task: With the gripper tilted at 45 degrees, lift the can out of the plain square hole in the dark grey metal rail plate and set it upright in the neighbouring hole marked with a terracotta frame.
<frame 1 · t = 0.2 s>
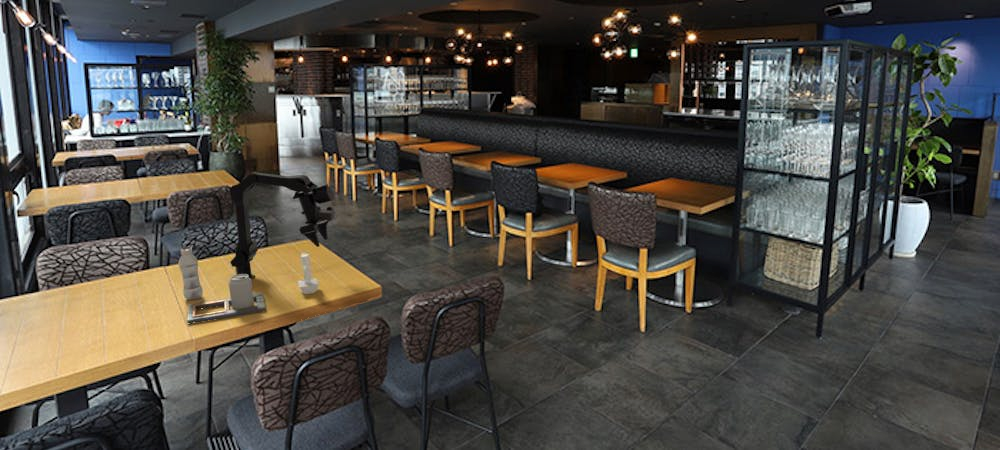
hand: (322, 243, 241), 15 cm above the table, tool pointing down, fingers open, 9 cm apart
figurine: (308, 292, 232), on the table
plastic bottle: (194, 299, 226), on the table
can: (243, 307, 218), resting in rail plate
rail plate: (227, 309, 216), on the table
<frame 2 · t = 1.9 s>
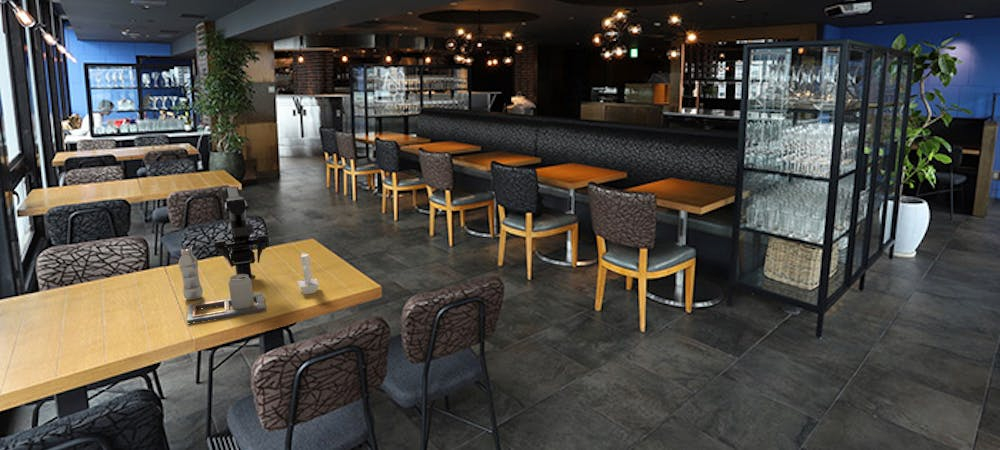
hand: (245, 264, 222), 14 cm above the table, tool tilted 40°, fingers open, 9 cm apart
nothing on the table moved.
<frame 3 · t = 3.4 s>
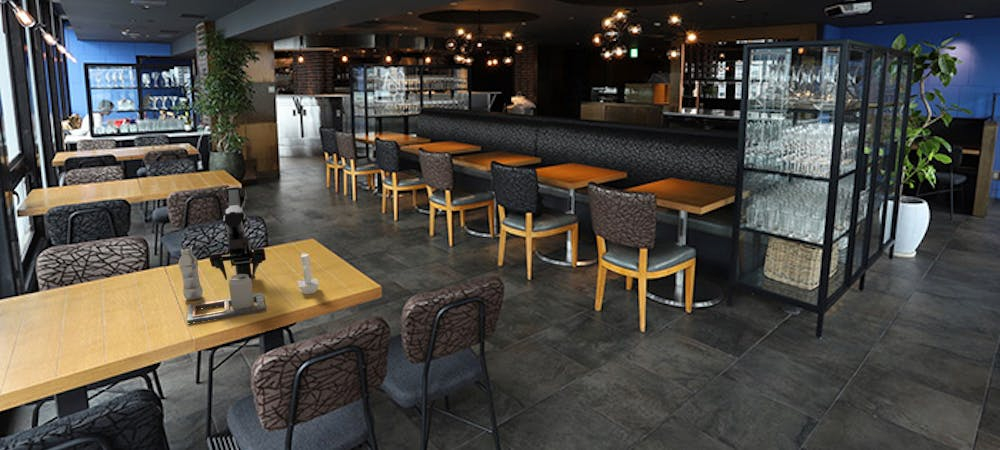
hand: (239, 277, 218), 10 cm above the table, tool tilted 45°, fingers open, 9 cm apart
nothing on the table moved.
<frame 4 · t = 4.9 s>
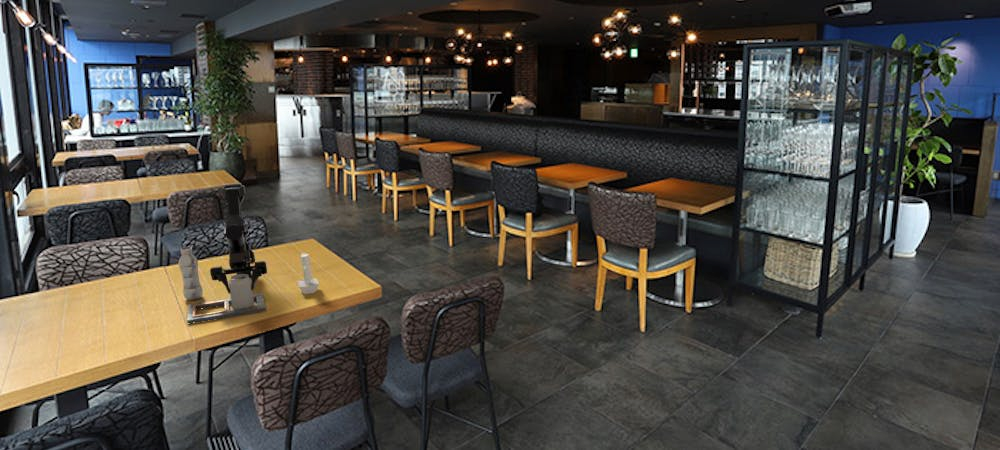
hand: (241, 291, 215), 7 cm above the table, tool tilted 45°, fingers closed on can, 7 cm apart
can: (243, 307, 218), resting in rail plate, touching gripper
everything else where it was.
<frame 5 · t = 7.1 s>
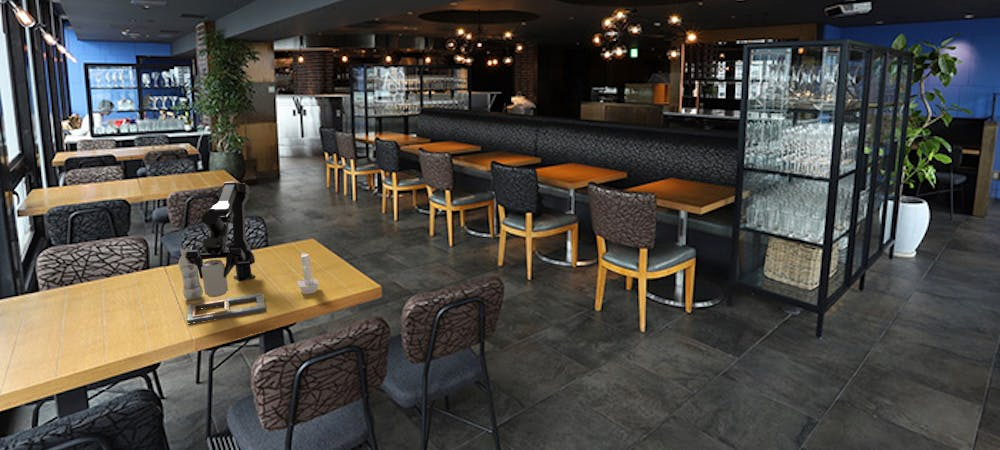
hand: (213, 277, 210), 13 cm above the table, tool tilted 45°, fingers closed on can, 7 cm apart
can: (217, 294, 213), point 7 cm above the table, touching gripper
everything else where it was.
when the fingers open (8 cm above the table, at t = 9.2 s): can drops 1 cm, resting in rail plate.
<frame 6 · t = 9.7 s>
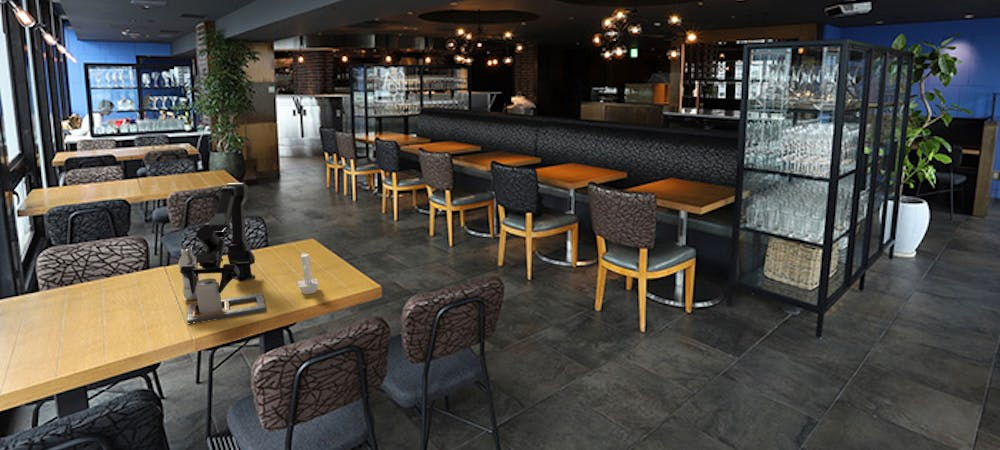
hand: (206, 293, 210), 8 cm above the table, tool tilted 45°, fingers open, 9 cm apart
can: (211, 312, 214), resting in rail plate
everything else where it was.
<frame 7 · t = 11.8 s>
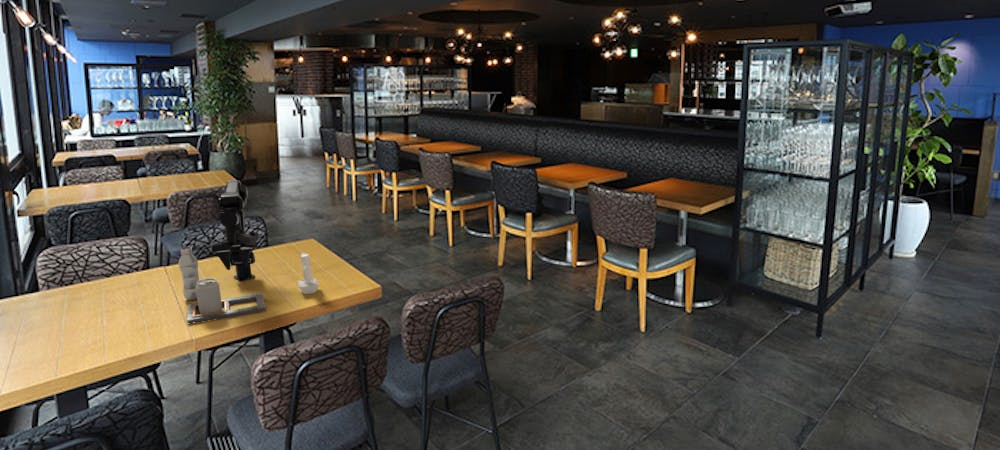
hand: (237, 268, 227), 11 cm above the table, tool tilted 15°, fingers open, 9 cm apart
nothing on the table moved.
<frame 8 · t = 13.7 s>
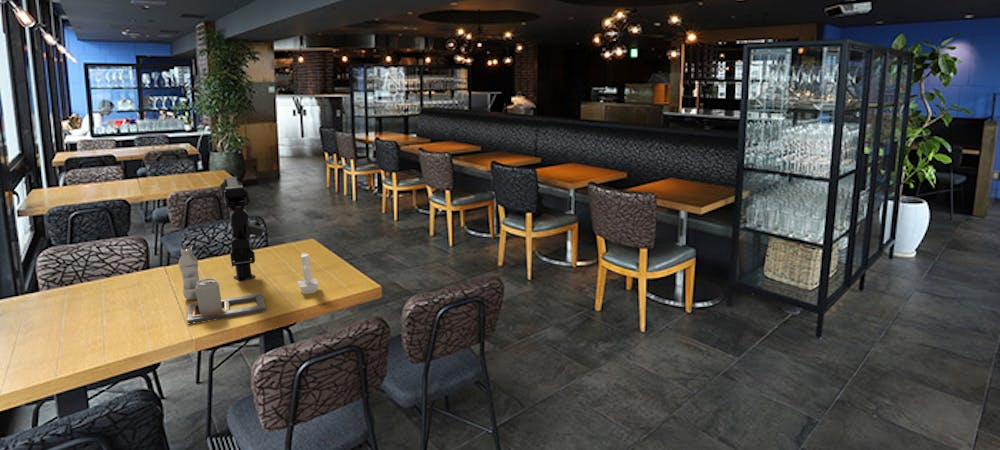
hand: (243, 258, 231), 13 cm above the table, tool pointing down, fingers open, 9 cm apart
nothing on the table moved.
at the end: can 0.2 cm from the target spot on the rail plate, point 0.0 cm above the rail plate's base; can tilted 0°; the gripper is holding nothing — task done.
